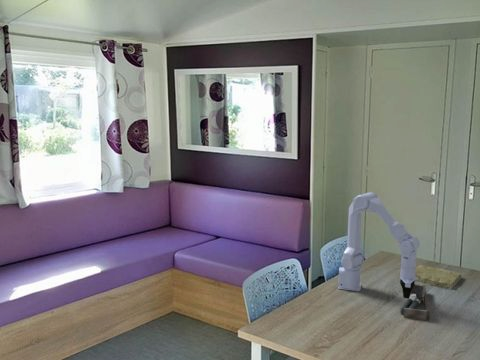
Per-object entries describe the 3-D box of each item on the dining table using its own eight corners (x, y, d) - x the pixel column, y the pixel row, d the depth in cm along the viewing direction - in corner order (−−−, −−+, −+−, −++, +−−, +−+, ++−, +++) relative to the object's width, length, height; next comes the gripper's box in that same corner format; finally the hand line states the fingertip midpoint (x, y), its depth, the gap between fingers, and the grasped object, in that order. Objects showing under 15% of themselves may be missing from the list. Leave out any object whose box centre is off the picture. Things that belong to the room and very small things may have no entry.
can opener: (412, 298, 208) (413, 284, 207) (424, 301, 205) (425, 286, 204) (398, 314, 193) (399, 299, 192) (411, 317, 190) (412, 302, 189)
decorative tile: (418, 270, 243) (419, 263, 243) (461, 279, 231) (462, 271, 231) (405, 281, 229) (406, 273, 228) (450, 291, 217) (451, 283, 216)
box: (404, 317, 190) (404, 308, 189) (403, 290, 216) (403, 282, 215) (428, 320, 187) (429, 311, 186) (424, 292, 213) (425, 285, 213)
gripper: (419, 273, 192) (417, 306, 194) (417, 261, 206) (416, 292, 208) (400, 271, 194) (398, 303, 196) (400, 260, 208) (398, 290, 210)
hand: (406, 297), depth 202 cm, fingers closed
